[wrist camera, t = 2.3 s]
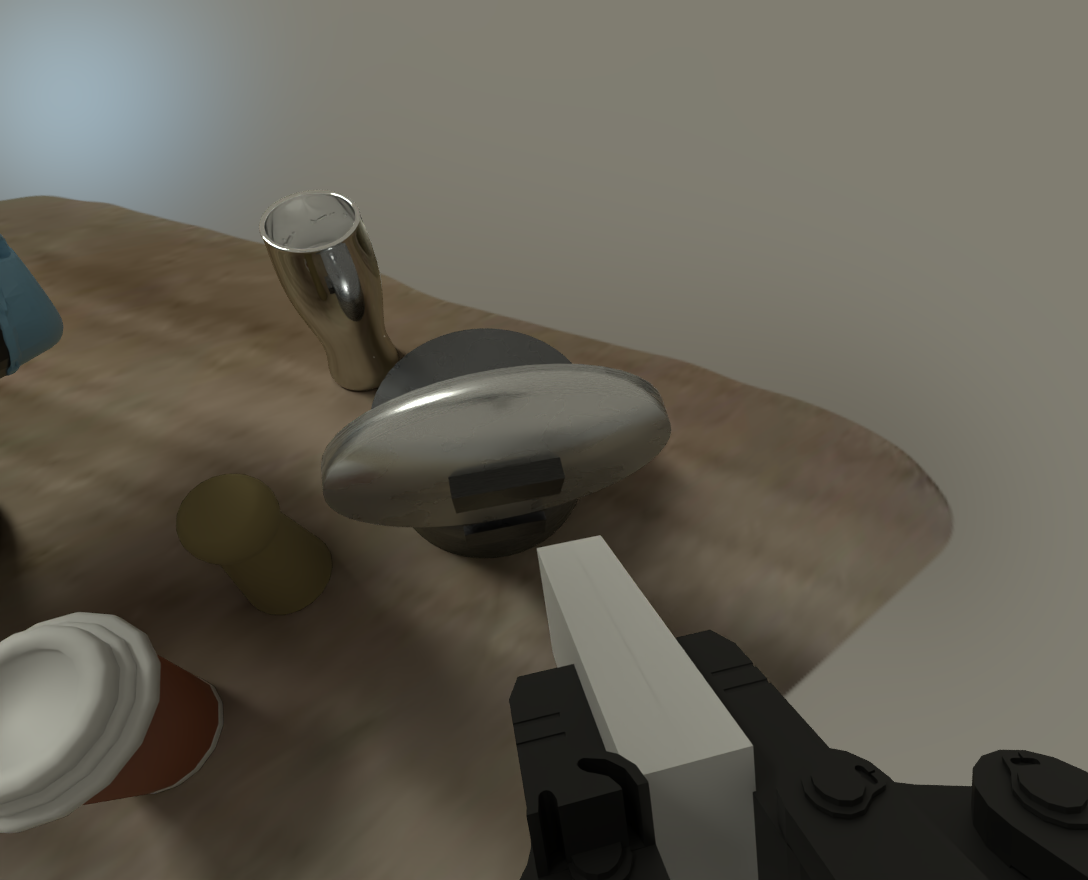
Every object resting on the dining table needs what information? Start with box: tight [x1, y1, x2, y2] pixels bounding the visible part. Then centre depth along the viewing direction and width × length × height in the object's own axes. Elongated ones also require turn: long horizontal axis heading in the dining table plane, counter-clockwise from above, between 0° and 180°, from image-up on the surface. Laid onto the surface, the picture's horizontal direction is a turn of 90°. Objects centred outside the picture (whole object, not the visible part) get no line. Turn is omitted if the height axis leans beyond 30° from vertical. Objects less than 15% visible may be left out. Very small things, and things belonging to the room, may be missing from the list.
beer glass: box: [259, 190, 399, 391], centre depth 43 cm, size 7×7×15 cm
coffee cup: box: [0, 612, 223, 833], centre depth 29 cm, size 9×9×12 cm
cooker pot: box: [371, 329, 578, 558], centre depth 41 cm, size 16×19×8 cm
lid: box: [321, 364, 671, 527], centre depth 26 cm, size 16×16×2 cm
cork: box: [176, 474, 332, 615], centre depth 35 cm, size 6×6×11 cm
